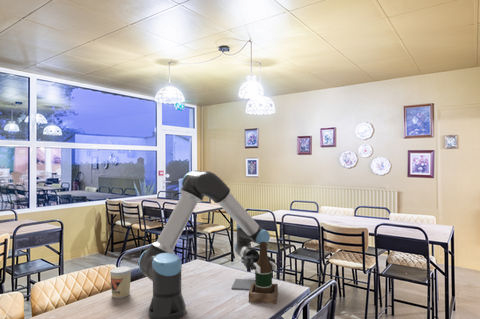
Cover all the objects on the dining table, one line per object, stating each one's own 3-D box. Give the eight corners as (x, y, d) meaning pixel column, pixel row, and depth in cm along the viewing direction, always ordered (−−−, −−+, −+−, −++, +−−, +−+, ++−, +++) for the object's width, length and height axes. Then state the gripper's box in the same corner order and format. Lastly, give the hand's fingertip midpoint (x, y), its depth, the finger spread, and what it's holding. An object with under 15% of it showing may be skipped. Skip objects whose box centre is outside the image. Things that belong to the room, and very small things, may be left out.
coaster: (231, 289, 155) (231, 287, 155) (235, 279, 167) (235, 278, 167) (255, 290, 153) (255, 289, 153) (258, 281, 165) (258, 279, 165)
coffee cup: (105, 296, 148) (105, 271, 148) (121, 289, 156) (121, 265, 156) (119, 300, 144) (119, 274, 144) (135, 292, 152) (135, 267, 152)
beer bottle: (271, 298, 141) (270, 245, 141) (254, 297, 143) (253, 244, 143) (272, 291, 149) (272, 240, 149) (256, 290, 150) (256, 239, 150)
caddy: (248, 302, 141) (248, 293, 141) (252, 290, 153) (252, 282, 153) (276, 304, 139) (276, 294, 139) (277, 292, 151) (277, 284, 151)
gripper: (267, 260, 166) (288, 274, 144) (231, 264, 160) (246, 280, 138) (267, 245, 166) (287, 258, 144) (231, 249, 160) (246, 263, 138)
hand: (267, 269), depth 141 cm, fingers closed on beer bottle, 7 cm apart
